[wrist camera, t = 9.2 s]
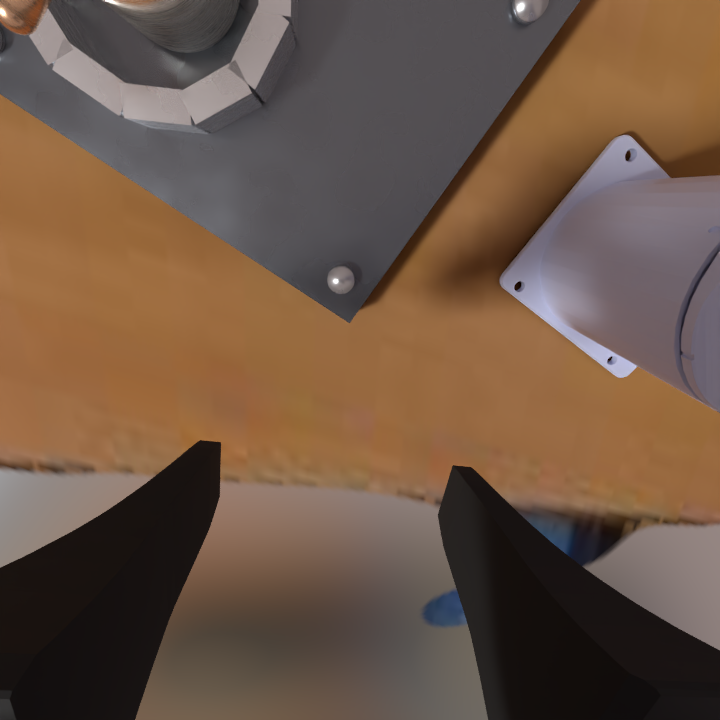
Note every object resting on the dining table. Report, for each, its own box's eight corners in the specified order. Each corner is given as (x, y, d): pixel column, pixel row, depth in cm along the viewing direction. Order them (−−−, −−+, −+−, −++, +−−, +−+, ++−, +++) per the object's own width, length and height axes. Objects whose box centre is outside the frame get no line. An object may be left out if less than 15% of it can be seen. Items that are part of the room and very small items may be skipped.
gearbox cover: (563, 11, 15) (623, -39, 12) (348, 314, 20) (350, 337, 16) (118, -480, 11) (21, -775, 7) (-34, 60, 15) (-137, 22, 12)
